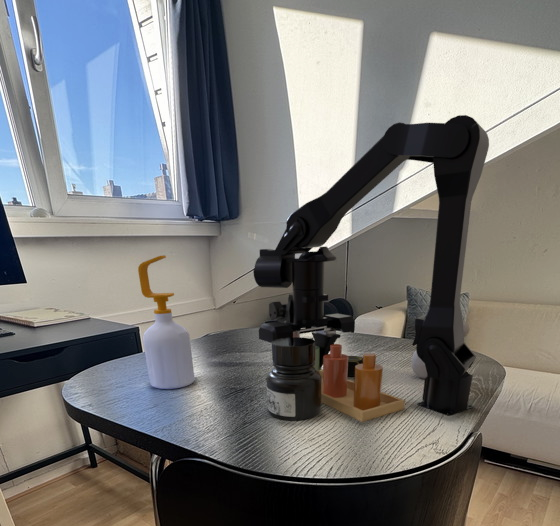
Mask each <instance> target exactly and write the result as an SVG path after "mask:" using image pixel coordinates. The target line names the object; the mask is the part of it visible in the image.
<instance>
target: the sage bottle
mask: <svg viewBox="0 0 560 526" xmlns="http://www.w3.org/2000/svg"><path fill="white" fill-rule="evenodd" d="M303 338H310V339H313V340H314V338H313V336H310V335H309V336H303ZM319 356H320V348H319V347H318V346H315V365H314V366H313V367H314V368H315V369H316V370H317V371H318V372H319Z"/></svg>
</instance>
